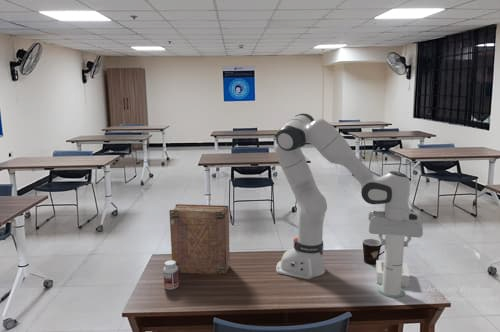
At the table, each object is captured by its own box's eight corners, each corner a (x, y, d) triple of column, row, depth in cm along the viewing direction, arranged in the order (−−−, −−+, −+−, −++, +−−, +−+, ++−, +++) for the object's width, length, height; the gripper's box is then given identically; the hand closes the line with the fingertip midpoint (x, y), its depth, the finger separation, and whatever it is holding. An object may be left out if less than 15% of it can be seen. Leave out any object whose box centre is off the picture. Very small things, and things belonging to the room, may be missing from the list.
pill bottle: (176, 281, 174) (175, 258, 171) (180, 288, 168) (179, 263, 166) (162, 284, 171) (161, 261, 169) (166, 291, 166) (164, 266, 163)
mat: (378, 295, 160) (378, 294, 160) (377, 284, 170) (378, 282, 169) (405, 299, 157) (405, 297, 157) (402, 286, 167) (402, 285, 167)
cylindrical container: (402, 295, 158) (406, 236, 154) (383, 294, 160) (387, 235, 155) (399, 287, 165) (402, 230, 161) (381, 285, 167) (384, 229, 162)
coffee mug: (361, 264, 188) (362, 244, 186) (361, 257, 196) (362, 238, 194) (387, 267, 185) (388, 247, 183) (386, 259, 193) (387, 240, 191)
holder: (376, 283, 170) (377, 272, 169) (375, 270, 182) (376, 259, 181) (409, 287, 167) (409, 276, 166) (405, 273, 179) (406, 262, 178)
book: (172, 272, 182) (168, 210, 177) (178, 263, 191) (175, 204, 186) (226, 275, 179) (224, 211, 173) (230, 266, 188) (228, 205, 182)
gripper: (368, 212, 157) (367, 245, 159) (424, 216, 151) (422, 250, 154) (368, 208, 163) (367, 240, 165) (422, 211, 157) (420, 244, 160)
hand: (394, 245), depth 159 cm, fingers closed on cylindrical container, 7 cm apart
